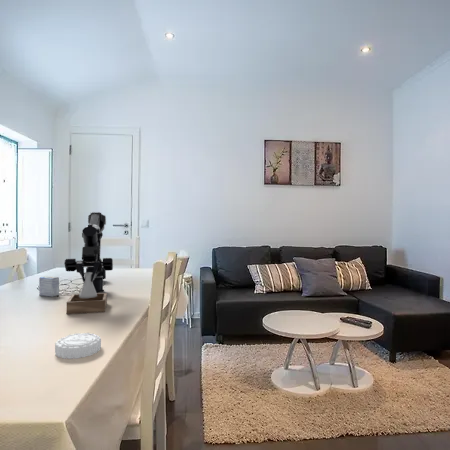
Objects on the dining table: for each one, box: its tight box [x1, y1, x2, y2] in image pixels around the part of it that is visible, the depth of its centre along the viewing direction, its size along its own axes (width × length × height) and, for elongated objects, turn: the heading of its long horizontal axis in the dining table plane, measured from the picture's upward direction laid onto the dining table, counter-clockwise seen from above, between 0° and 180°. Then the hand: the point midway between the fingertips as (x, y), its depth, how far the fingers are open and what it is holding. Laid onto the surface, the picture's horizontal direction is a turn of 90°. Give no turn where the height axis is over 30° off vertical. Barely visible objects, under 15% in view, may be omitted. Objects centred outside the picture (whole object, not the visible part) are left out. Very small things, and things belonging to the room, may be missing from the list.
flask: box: [78, 271, 98, 298], centre depth 141 cm, size 7×7×10 cm
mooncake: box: [54, 332, 102, 360], centre depth 97 cm, size 12×12×4 cm
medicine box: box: [38, 275, 60, 298], centre depth 163 cm, size 8×4×9 cm, turn 71°
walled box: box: [65, 292, 108, 315], centre depth 141 cm, size 14×14×5 cm
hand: (87, 281), depth 139 cm, fingers closed on flask, 3 cm apart
